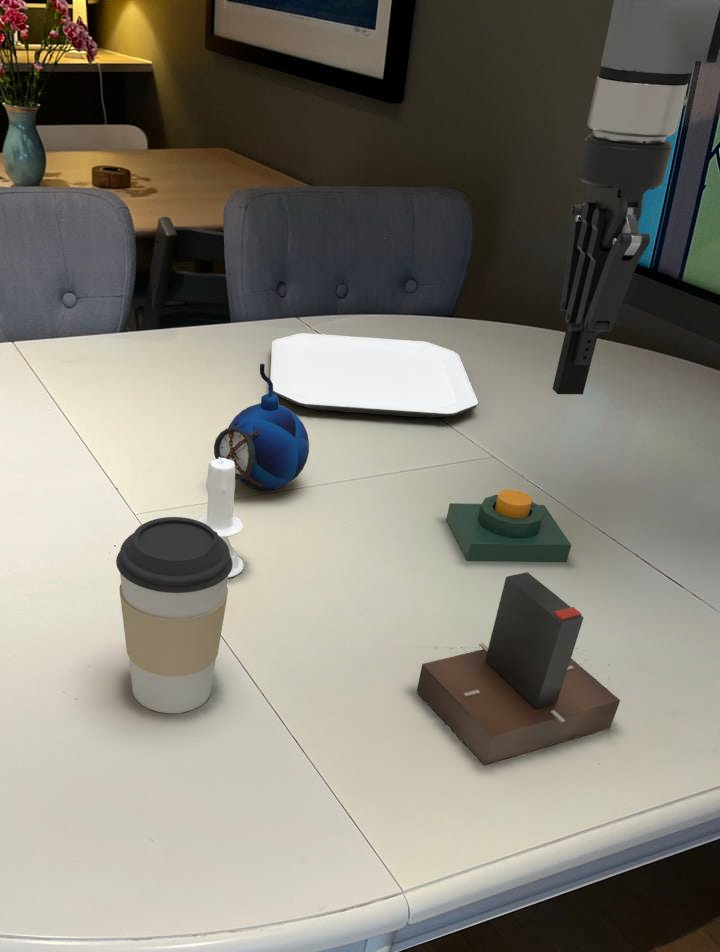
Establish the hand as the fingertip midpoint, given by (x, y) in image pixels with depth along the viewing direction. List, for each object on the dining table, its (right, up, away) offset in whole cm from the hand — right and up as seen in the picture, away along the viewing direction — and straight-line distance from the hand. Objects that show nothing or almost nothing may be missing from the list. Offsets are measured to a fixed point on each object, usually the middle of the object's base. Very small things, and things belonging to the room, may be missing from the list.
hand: (567, 391), depth 101 cm
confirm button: (-4, -12, +6) cm, 14 cm away
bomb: (-31, -8, +15) cm, 36 cm away
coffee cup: (-39, -30, -17) cm, 52 cm away
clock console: (-10, -31, -17) cm, 37 cm away
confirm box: (-4, -15, +8) cm, 17 cm away
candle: (-36, -18, 0) cm, 40 cm away
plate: (-15, +12, +44) cm, 48 cm away
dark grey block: (-10, -29, -18) cm, 36 cm away
